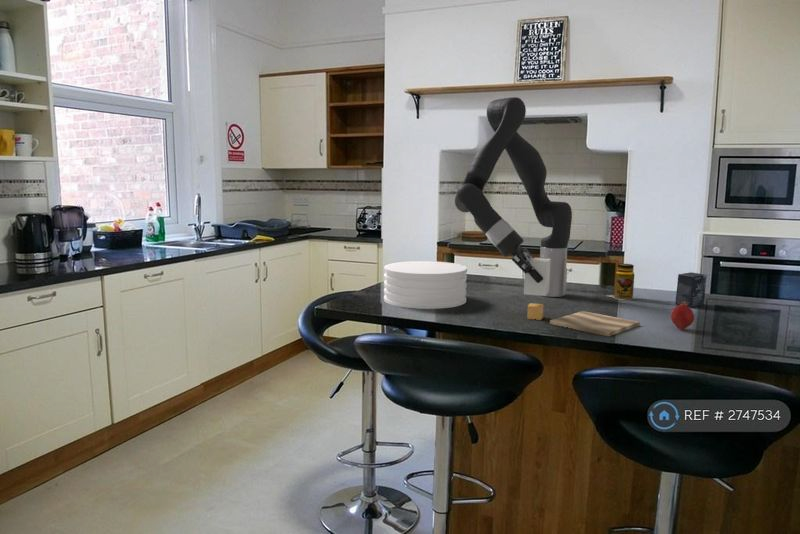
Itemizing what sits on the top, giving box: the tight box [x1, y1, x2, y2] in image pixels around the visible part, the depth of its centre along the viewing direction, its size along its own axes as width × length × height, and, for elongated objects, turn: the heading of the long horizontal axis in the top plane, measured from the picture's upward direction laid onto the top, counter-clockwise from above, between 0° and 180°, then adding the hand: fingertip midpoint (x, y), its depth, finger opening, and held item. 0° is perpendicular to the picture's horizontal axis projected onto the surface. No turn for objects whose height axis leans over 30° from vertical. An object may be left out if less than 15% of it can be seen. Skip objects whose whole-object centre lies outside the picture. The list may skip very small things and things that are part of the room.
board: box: [549, 310, 641, 337], centre depth 167 cm, size 18×18×1 cm
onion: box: [670, 302, 695, 331], centre depth 162 cm, size 6×6×8 cm
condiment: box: [606, 263, 639, 301], centre depth 205 cm, size 7×8×12 cm
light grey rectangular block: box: [523, 257, 550, 297], centre depth 173 cm, size 6×6×10 cm
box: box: [675, 271, 708, 309], centre depth 193 cm, size 8×6×11 cm
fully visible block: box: [526, 302, 544, 321], centre depth 174 cm, size 4×4×4 cm
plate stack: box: [383, 260, 468, 310], centre depth 198 cm, size 28×28×12 cm
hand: (542, 278), depth 172 cm, fingers closed on light grey rectangular block, 6 cm apart
